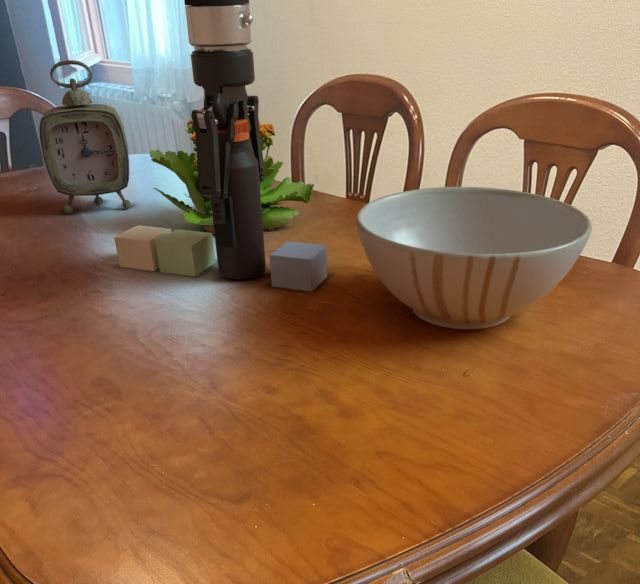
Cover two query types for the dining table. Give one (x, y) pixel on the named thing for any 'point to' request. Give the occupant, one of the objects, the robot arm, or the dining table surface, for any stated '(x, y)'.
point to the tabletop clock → (84, 145)
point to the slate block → (298, 266)
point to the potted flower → (284, 191)
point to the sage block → (185, 252)
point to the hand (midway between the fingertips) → (238, 237)
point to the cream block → (139, 247)
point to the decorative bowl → (471, 250)
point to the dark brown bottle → (243, 212)
